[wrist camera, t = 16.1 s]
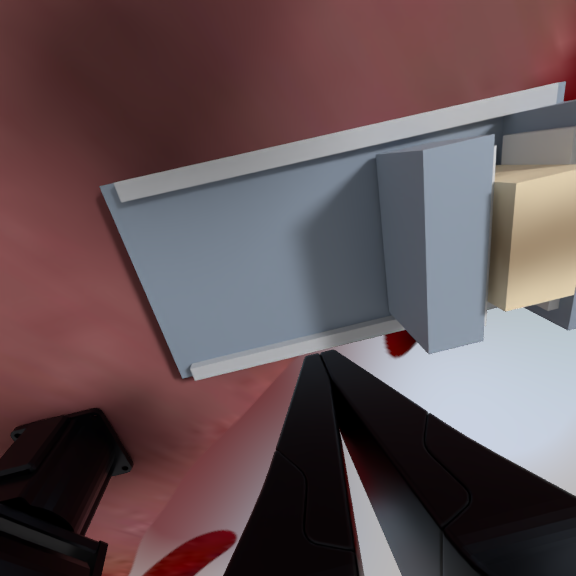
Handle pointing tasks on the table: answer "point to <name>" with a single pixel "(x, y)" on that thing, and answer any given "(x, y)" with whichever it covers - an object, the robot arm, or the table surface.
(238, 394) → the table surface
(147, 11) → the table surface
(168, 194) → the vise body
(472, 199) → the block
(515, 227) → the block
